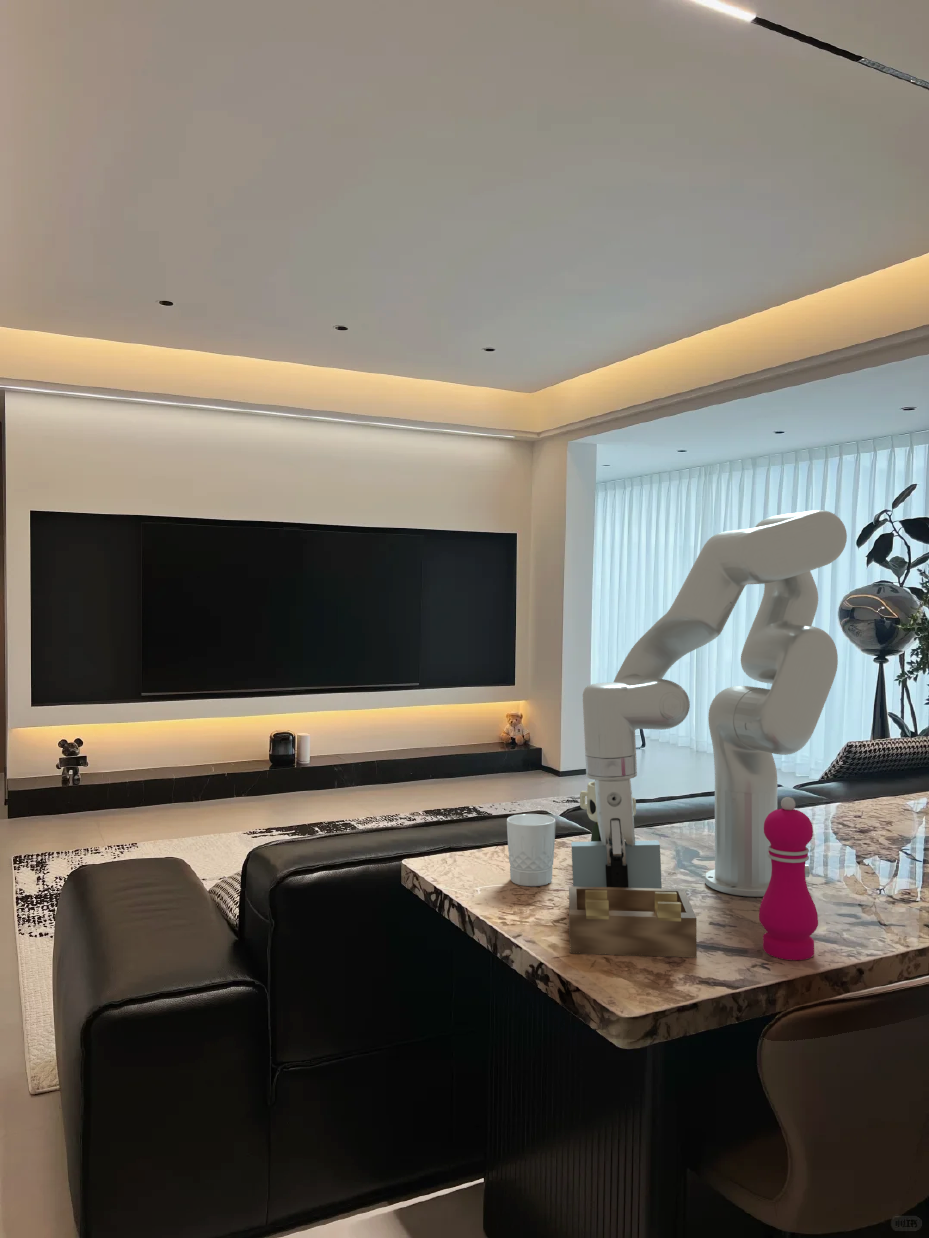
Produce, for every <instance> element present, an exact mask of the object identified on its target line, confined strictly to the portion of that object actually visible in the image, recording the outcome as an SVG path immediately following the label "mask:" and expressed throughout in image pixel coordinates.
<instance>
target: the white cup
mask: <svg viewBox="0 0 929 1238" xmlns="http://www.w3.org/2000/svg"><path fill="white" fill-rule="evenodd" d="M506 831H507V832H506V833H507V852H508V860H509V861H508V862H509V873H510V875H509V876H510V877H509V879H510V881H511V882H512V883H513V884H515V885H517V886H518V885H519V886H523V887H540V886H541V887H542V886H547V885H548V883H549V884H551V883H552V880H553V865H554V862H555V861H554V860H555V842H556V841H555V838H556V818H555V817H552V816H550V815H546V814H537V813H523V814H514V815H511V816H508V817H507V819H506Z"/></svg>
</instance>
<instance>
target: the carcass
mask: <svg viewBox="0 0 929 1238" xmlns="http://www.w3.org/2000/svg"><path fill="white" fill-rule="evenodd" d="M568 898H569V899H568V907H569V908H568V918H569V919H568V921H569V922H568V923H569V929H568V930H569V954H579V955H580V954H581V955H582V954H585V955H586V954H587V955H610V956H611V955H614V956H615V955H617V956H640V957H641V956H644V957H645V956H646V957H647V956H648V957H679V958H681V957H682V958H697V952H698V951H697V945H698V943H697V941H698V940H697V932H698V931H697V929H698V928H697V915H696V913H695V910H694V908H693V906H692V904H691V902H690V899H689V897H688V895H687V893H686V890H685V888H662V889H659V888H618V887H578V886H573V885H572V886H571V885H570V886H568Z"/></svg>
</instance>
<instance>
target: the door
mask: <svg viewBox="0 0 929 1238" xmlns="http://www.w3.org/2000/svg"><path fill="white" fill-rule="evenodd" d="M570 843H571V867H572V868H571V869H572V886H578V887H606V866H605V865H606V864H607V851H606V847H605V846H603V845H602V841H592V842H591V841H571V842H570ZM621 843H622V841H621ZM609 844H612V841H609ZM611 851H612V849H610V852H611ZM621 851H622V850H621ZM625 853H626V864H627V866H628V887H629V888H659V889H663V887H662V865H661V864H662V863H661V861H662V860H661V844H660V842H659V840H658V839H657V840H656V839H655V840H650V839H649V840H635V845H634V846H632V847H631V845H630V844H628V845H627V843H626V841H625Z"/></svg>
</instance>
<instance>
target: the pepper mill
mask: <svg viewBox="0 0 929 1238" xmlns="http://www.w3.org/2000/svg"><path fill="white" fill-rule="evenodd" d="M780 806H781V808H777V810H774V811H773V812H771V813H770V814H769V815H768V816H767V817H766V819H765V822H764V834H765V836H766V838H767V839H768V840H769V842H770V843H771V844H770V845H769V846H768V850H769V853H768V857H769V858H771V863H772V872H771V879H770V883H769V885H768V888H767V890H766V892H765V895H764V896H763V897H762V899H761V901H760V906H759V910H758V920H759V923H760V924H761V926H762V927H763V928H764V930H765V932H764V934H763V935H762V950H763V951H764V952H765V954H767V955H769V956H771V957H773V958H777V959H780V960H787V961H805V960H808V959H811V958H812V957H814V956H815V940H814V939H813V938H812V937H811V936H812V935H813V933H815V932H816V930H817V929H818V926H819V917H818V911H817V908H816V904H815V902H814V900H813V897H812V896H811V894H810V891H809V889H808V884H807V880H806V877H805V865H806V862H808V861H809V859H810V856H809V852H810V849H809V848H808V847H807V845H808V844H809V843H811V841H812V839H813V836H814V829H813V828H814V827H813V824H812V821H811V820H810V818H809V816H808V815H806V814H805V813H804V812H803V811H801V810H798V809H795V808H796V801H795V799H794V798H793V797H790V796H786V797H783V798H782V799H781V801H780Z"/></svg>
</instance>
